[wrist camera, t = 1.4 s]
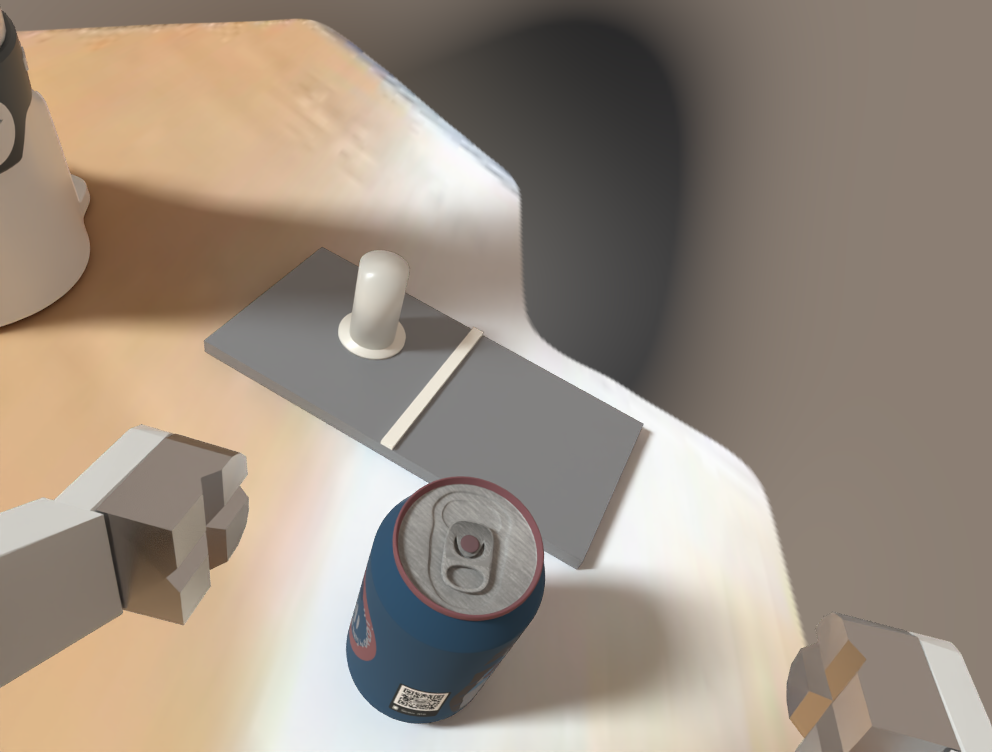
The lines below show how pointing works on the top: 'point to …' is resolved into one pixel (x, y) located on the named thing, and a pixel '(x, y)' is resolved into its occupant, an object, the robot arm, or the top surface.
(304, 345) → the board
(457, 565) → the soda can
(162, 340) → the top surface
